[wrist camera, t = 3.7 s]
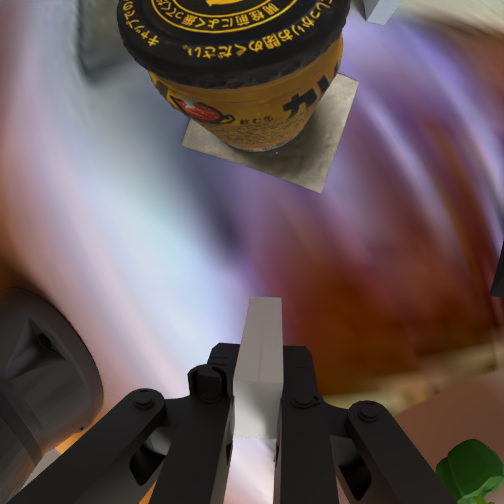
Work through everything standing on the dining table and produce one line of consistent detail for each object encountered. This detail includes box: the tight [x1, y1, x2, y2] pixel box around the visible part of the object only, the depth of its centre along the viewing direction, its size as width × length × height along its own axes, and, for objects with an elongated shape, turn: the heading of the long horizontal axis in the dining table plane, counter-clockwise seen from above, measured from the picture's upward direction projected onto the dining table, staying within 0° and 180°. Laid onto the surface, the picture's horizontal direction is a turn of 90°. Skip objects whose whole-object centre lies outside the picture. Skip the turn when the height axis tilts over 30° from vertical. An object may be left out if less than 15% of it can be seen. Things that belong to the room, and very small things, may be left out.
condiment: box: [117, 0, 359, 193], centre depth 10 cm, size 7×8×12 cm
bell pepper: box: [436, 439, 504, 504], centre depth 17 cm, size 8×8×10 cm
